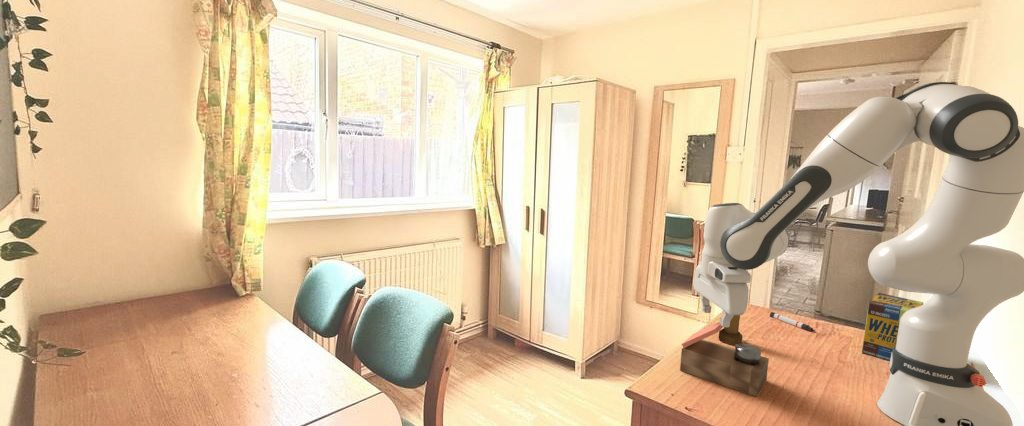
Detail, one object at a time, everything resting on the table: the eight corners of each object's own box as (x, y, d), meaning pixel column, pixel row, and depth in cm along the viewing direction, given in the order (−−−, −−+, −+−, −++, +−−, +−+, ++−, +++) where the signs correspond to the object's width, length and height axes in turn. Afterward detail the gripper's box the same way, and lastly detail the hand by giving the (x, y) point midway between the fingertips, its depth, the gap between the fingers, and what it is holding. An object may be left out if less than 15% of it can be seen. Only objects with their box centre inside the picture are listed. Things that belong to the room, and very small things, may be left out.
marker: (769, 317, 154) (770, 312, 154) (773, 316, 155) (773, 311, 154) (812, 334, 140) (813, 328, 139) (816, 333, 140) (817, 327, 140)
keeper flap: (727, 322, 113) (725, 319, 113) (717, 332, 106) (714, 328, 107) (695, 337, 119) (693, 334, 119) (683, 347, 112) (681, 344, 112)
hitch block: (766, 380, 109) (768, 358, 108) (757, 396, 101) (759, 372, 100) (692, 357, 120) (694, 337, 119) (679, 370, 113) (681, 348, 112)
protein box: (861, 353, 126) (868, 302, 124) (871, 339, 136) (878, 292, 134) (909, 367, 118) (917, 313, 116) (916, 351, 128) (924, 301, 126)
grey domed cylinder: (763, 382, 106) (766, 351, 105) (745, 386, 104) (748, 354, 103) (744, 371, 111) (747, 342, 110) (727, 374, 109) (730, 344, 108)
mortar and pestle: (745, 346, 128) (751, 288, 126) (721, 344, 130) (727, 286, 127) (738, 337, 135) (743, 281, 132) (715, 335, 136) (721, 280, 134)
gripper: (689, 256, 119) (685, 304, 121) (728, 277, 98) (722, 335, 100) (712, 256, 119) (707, 304, 121) (755, 278, 99) (749, 335, 100)
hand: (714, 318), depth 110 cm, fingers open, 8 cm apart
